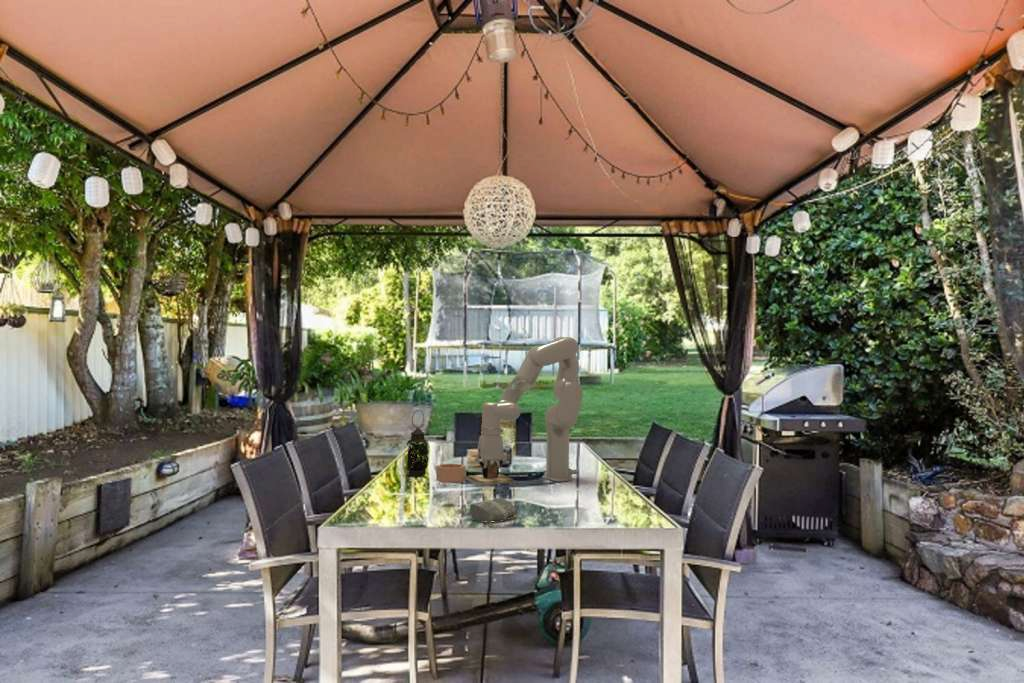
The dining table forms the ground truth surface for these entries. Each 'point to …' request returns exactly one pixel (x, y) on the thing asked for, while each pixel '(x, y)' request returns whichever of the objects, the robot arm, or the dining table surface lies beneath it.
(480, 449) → the robot arm
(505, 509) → the decorative stone
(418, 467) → the lantern
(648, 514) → the dining table surface
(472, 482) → the mat
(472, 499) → the dining table surface
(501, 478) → the lid
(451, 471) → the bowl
